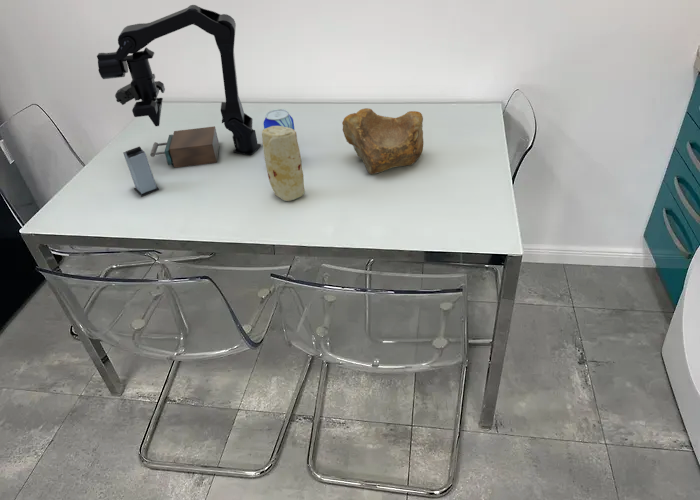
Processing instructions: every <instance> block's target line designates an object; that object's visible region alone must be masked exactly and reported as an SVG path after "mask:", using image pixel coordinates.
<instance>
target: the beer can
mask: <svg viewBox="0 0 700 500" xmlns="http://www.w3.org/2000/svg"><path fill="white" fill-rule="evenodd" d="M262 125H263V129H265V128H268V127H271V126H283V127H288V128H292V129H294V130H295V131H296V129H295V122H294V119H293V116H291V115H290V112H289V111H288V110H287V109H285V108H284V109H283V108H277V109H272V110H271V109H270V110H269V111H267V112H266V113H265V117H264V120H263V124H262Z"/></svg>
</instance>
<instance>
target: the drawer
mask: <svg viewBox="0 0 700 500" xmlns="http://www.w3.org/2000/svg"><path fill="white" fill-rule="evenodd" d="M172 137H173V134H168V138H167V141H166V142H159V143H158V142H156V141H155V142H153V144H152V148H151V151H150V153H149V156H150V157H151V158H154V157H156V156H160V155H165V158H166V162H167V165H168V166H172V165H174V164H173V161H172V157H171V154H170V151H169V148H170V144H171V141H172ZM162 146H165V148H164V150H163V151H157V150H158V147H162Z"/></svg>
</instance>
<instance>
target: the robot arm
mask: <svg viewBox="0 0 700 500" xmlns="http://www.w3.org/2000/svg"><path fill="white" fill-rule="evenodd" d="M192 25H193V26H195V27H198V28H199V29H201V30H203V31H204V32H205V33H207V34H209V35H211V36H213V37H214V41H215V44H216V47H217V50H218V52H219V55H220V63H221V71H222V79H223V80H222V81H223V89H224V96H225V97H224V98H225V101H221V104H220V114H221V117H222V119H221V124H223V125H224V127H225V129H226V130H228V131H229V132H231V133H232V141H233V145H234V149H233V153H234V154H240V155H246V156H252V155H253V154H254V153H255V152H257V150H259V149H260V148H261V147H262V144H260V143H258V137H257V131H256V130H255V129H254V128H253V118H252V117H251V116H249V115H248V114H247V113H245V111H244V107H243V104H242V102H241V99H240V96H239V87H238V75H237V67H236V58H235V42H236V41H235V40H236V27H237V24H236V21H235V19H234V18H233V17H232V16H231V15H229V14H227V13H222V14H221V13H218V12H216V11H214V10H209V9H206V8H204V7H203V8H202V7H200V6H198V5H196V4H191V5H189V6H187V7H186V8H183V9H181V10H178V11H175V12H174V13H173V12H172V13H171V14H168V15H165V16H163V17H160V18H159V19H156V20H153V21H150V22H147V23H146V22H145V23H144V22H143V23H135V24H129V25H127V26H125V27H123V28H122V31H121V32H120V33H119V35H118V37H117V44H118V48H117V49H116V51H113V52H98V54H97V55H96V59H97V69H98V73H99V75H100V77H101V79H102V80H110V79H118V78H125V77H126V74H127V73H129V74H130V77H131V81H130V83H128V84H126V85H124V86H122V87H120V88H119V89H117V91H116V92H115V95H114V97H115V100H116V102H117V103H119V104H121V105H122V106H123V105H126V103H128V102H131V101H132V100H134V101H136V102H135V103H134V105H133V106H132V109H131V111H132V114H133V117H134V118H140V117H148V118H149V119H150V121H151V122H152V124H153V125H154V126H155V127H160V124H161V113H162V109H163V108H162V107H163V99H164V98H163V97H158V96H159V93H160V92H161V94H164V93H165V91H166V87H165V84H164V83H163V82H162V81H161V80H158V81H156V80H155V79H156V74H155V73H153V72H152V71H153V70H152V68H151V65H150V59H153V57H154V55H155V52H154V51H153V50H151V49H149V48H148V47H147V46H148V45H149V44H150V43H151V42H153V41H155V40H156V39H159V38H162V37H164V36H167V35H169V34H172V33H175V32H176V31H179V30H182V29H185V28H187V27H189V26H192ZM142 49H143V50H142ZM140 100H141V101H140Z"/></svg>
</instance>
